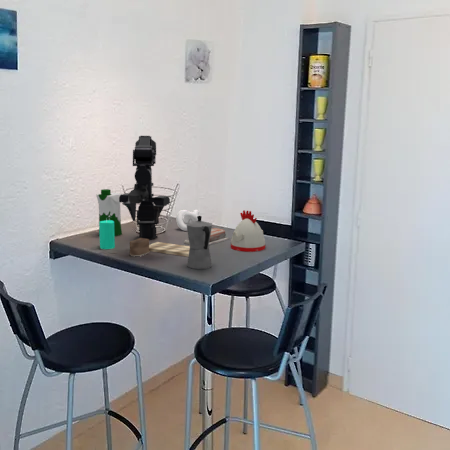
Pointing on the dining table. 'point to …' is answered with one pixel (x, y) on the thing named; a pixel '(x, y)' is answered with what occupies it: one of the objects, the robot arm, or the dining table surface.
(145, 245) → the block
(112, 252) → the dining table surface
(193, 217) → the white knot sculpture
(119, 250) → the dining table surface
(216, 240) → the packaged product
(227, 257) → the dining table surface
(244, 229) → the kitchen timer
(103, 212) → the milk carton
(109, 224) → the candle
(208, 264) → the coffeepot
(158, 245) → the board
